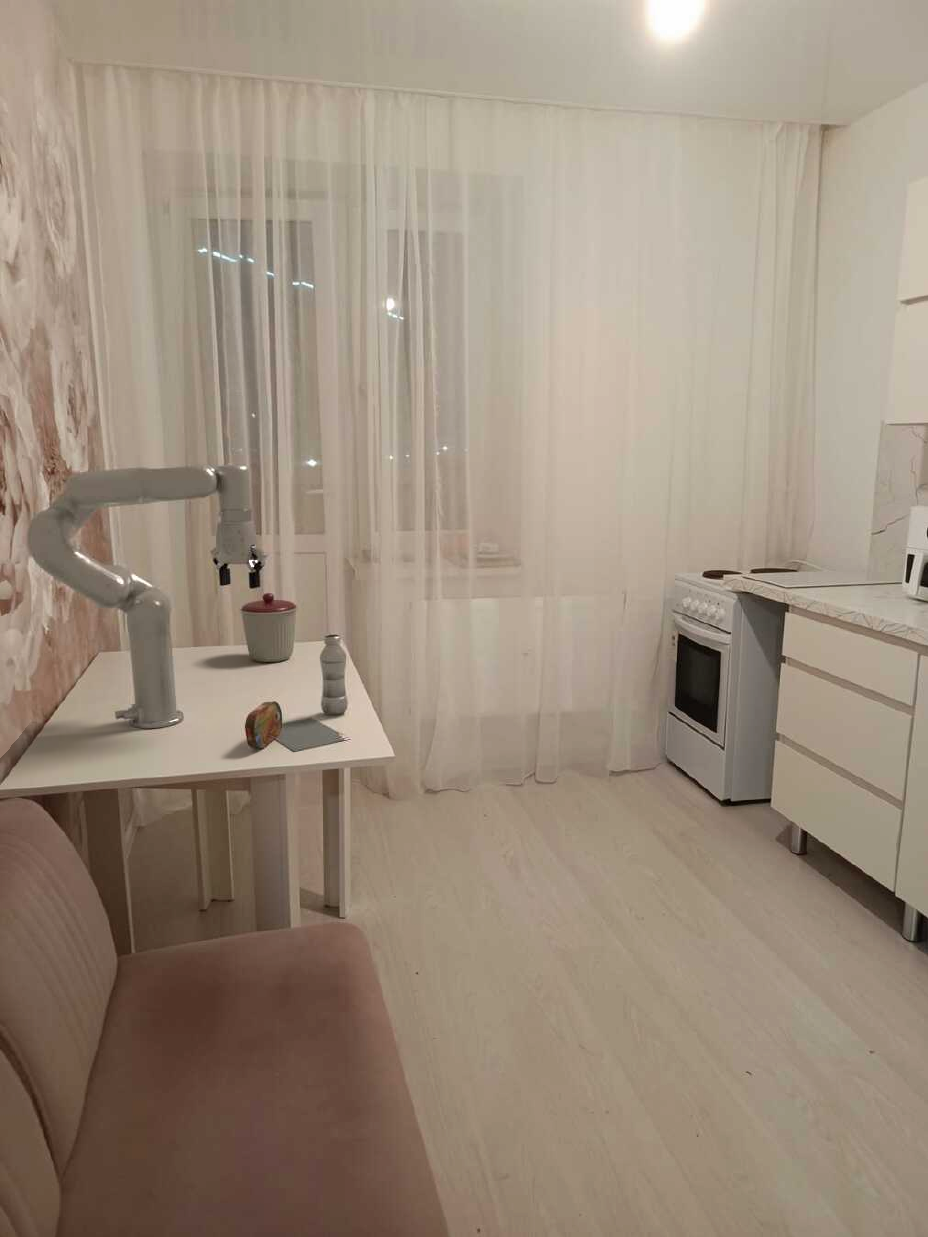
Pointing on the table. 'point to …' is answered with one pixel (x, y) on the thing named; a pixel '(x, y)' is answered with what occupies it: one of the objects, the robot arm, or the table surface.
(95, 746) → the table surface
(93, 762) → the table surface
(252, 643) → the canister
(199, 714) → the table surface
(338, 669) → the plastic bottle
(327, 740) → the mat
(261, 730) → the tin
